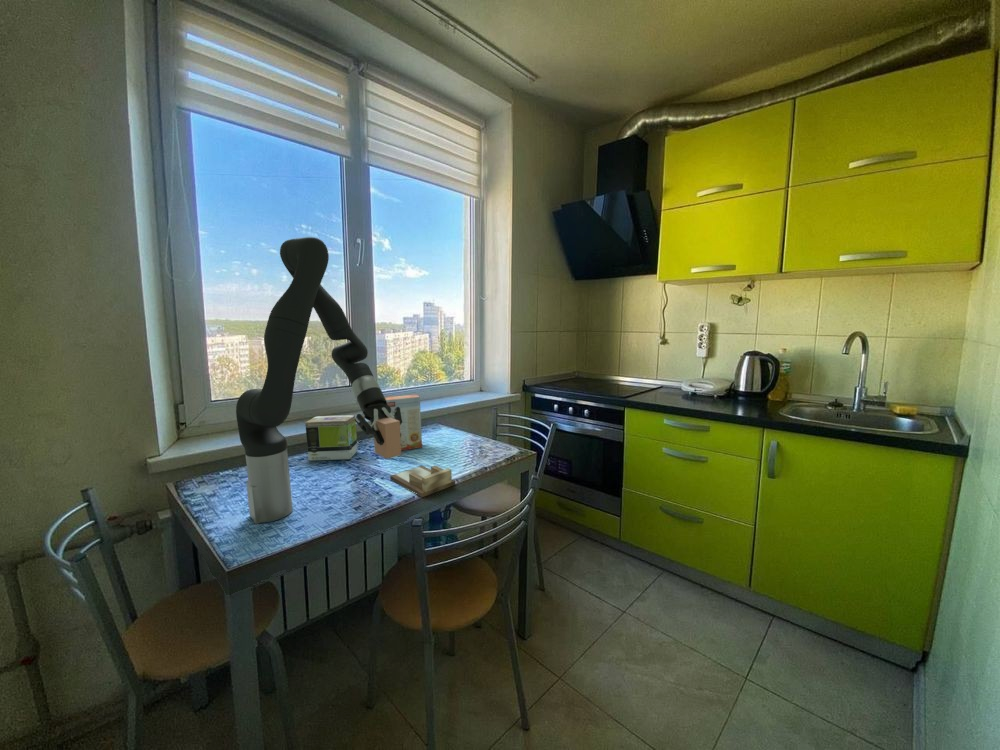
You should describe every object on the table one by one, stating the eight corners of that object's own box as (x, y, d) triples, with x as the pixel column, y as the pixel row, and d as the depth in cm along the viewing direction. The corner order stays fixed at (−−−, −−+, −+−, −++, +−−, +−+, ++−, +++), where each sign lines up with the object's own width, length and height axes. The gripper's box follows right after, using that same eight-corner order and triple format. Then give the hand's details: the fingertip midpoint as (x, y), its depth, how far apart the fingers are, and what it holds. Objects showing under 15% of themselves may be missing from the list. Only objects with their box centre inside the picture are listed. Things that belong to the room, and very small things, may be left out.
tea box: (358, 451, 150) (355, 414, 148) (349, 460, 140) (347, 420, 138) (318, 452, 149) (315, 414, 147) (307, 461, 139) (304, 421, 137)
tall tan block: (386, 458, 107) (385, 424, 105) (374, 452, 112) (373, 419, 110) (401, 454, 110) (399, 420, 108) (389, 449, 115) (387, 416, 113)
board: (422, 497, 110) (421, 480, 109) (390, 479, 123) (389, 463, 122) (455, 484, 118) (454, 468, 118) (422, 469, 131) (421, 454, 130)
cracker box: (419, 443, 158) (417, 393, 155) (422, 448, 153) (420, 396, 150) (383, 448, 153) (381, 396, 150) (386, 453, 147) (383, 399, 144)
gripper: (348, 389, 108) (371, 440, 102) (394, 383, 118) (417, 429, 112) (342, 405, 113) (363, 454, 106) (386, 397, 123) (408, 442, 116)
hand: (390, 441), depth 109 cm, fingers closed on tall tan block, 4 cm apart
